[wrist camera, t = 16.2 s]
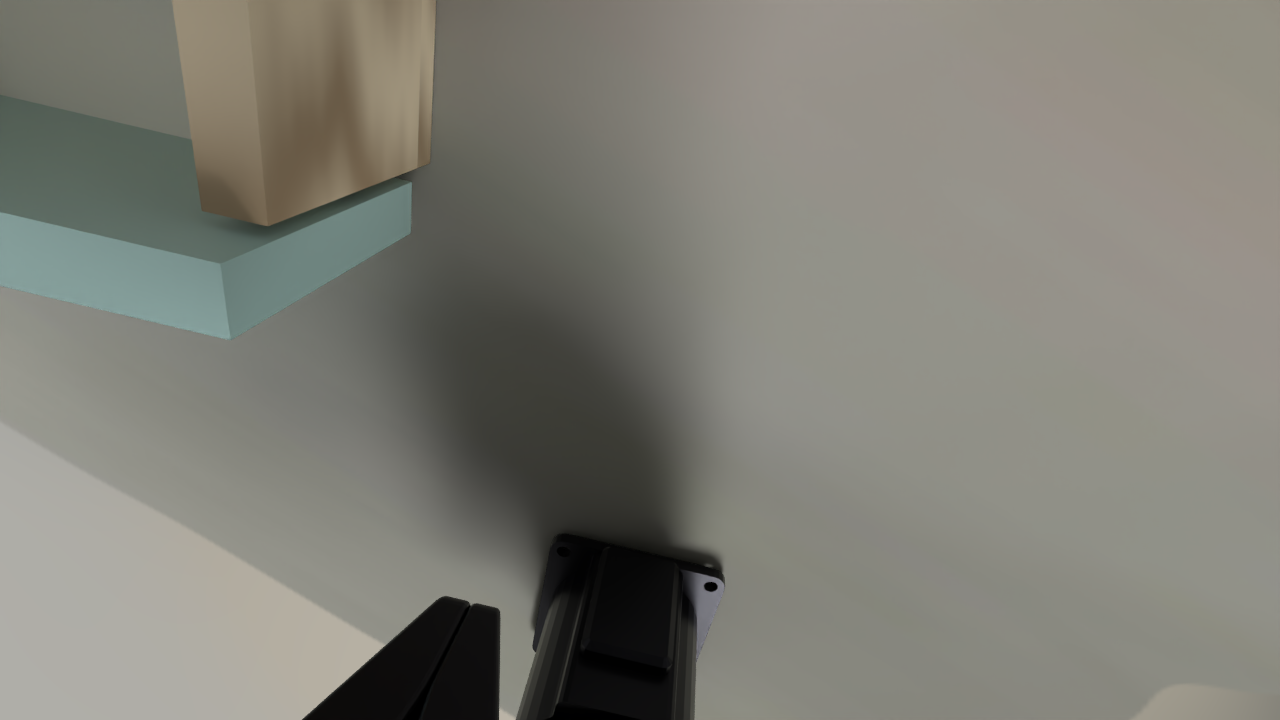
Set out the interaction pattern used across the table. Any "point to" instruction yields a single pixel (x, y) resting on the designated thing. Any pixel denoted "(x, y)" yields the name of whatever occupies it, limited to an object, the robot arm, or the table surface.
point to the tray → (144, 182)
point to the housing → (303, 99)
